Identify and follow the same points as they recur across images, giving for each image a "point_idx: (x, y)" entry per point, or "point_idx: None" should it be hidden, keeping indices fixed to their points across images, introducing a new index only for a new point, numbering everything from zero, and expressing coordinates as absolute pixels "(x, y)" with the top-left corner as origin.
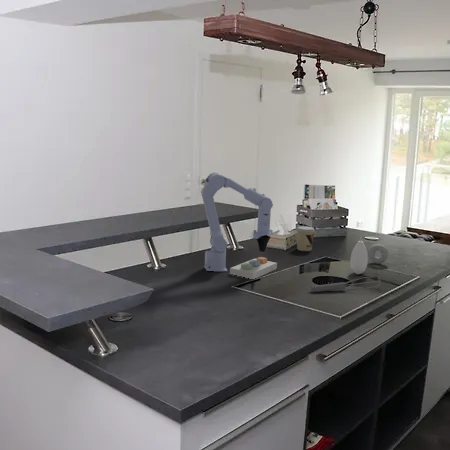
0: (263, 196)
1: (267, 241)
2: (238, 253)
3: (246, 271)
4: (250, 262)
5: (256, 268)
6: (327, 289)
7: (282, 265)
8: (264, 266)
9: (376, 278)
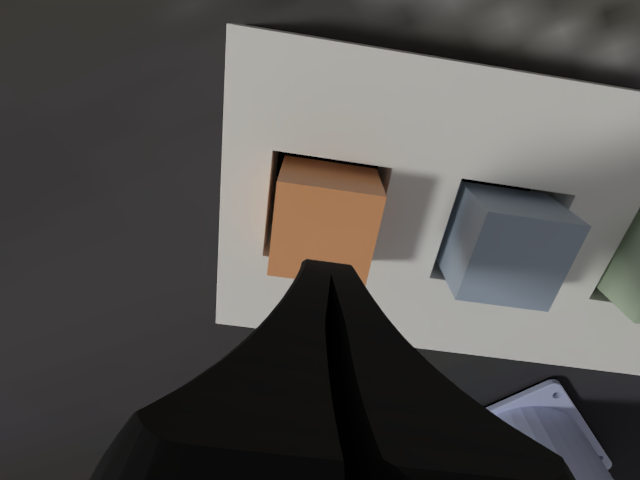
0: None
1: (287, 369)
2: (27, 466)
3: None
4: (552, 287)
5: (634, 170)
6: None
7: (42, 17)
8: (503, 116)
9: None
